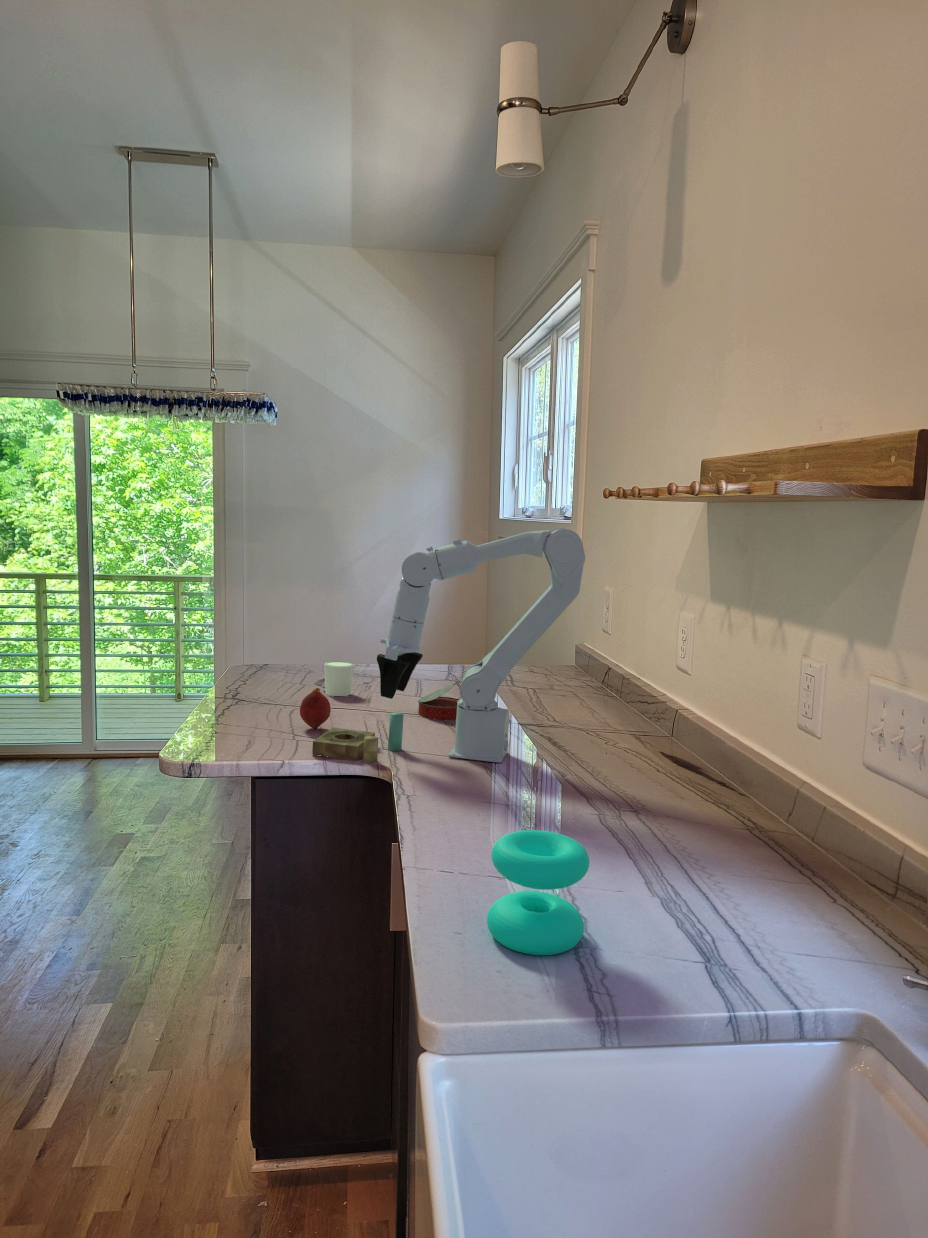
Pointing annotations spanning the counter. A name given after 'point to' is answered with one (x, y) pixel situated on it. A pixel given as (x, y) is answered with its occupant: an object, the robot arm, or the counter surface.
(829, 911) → the counter surface
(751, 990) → the counter surface
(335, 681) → the white short cylinder
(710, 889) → the counter surface
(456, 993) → the counter surface
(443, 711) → the canned food
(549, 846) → the donuts
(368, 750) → the short dowel
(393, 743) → the long dowel
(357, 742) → the board
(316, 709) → the onion
